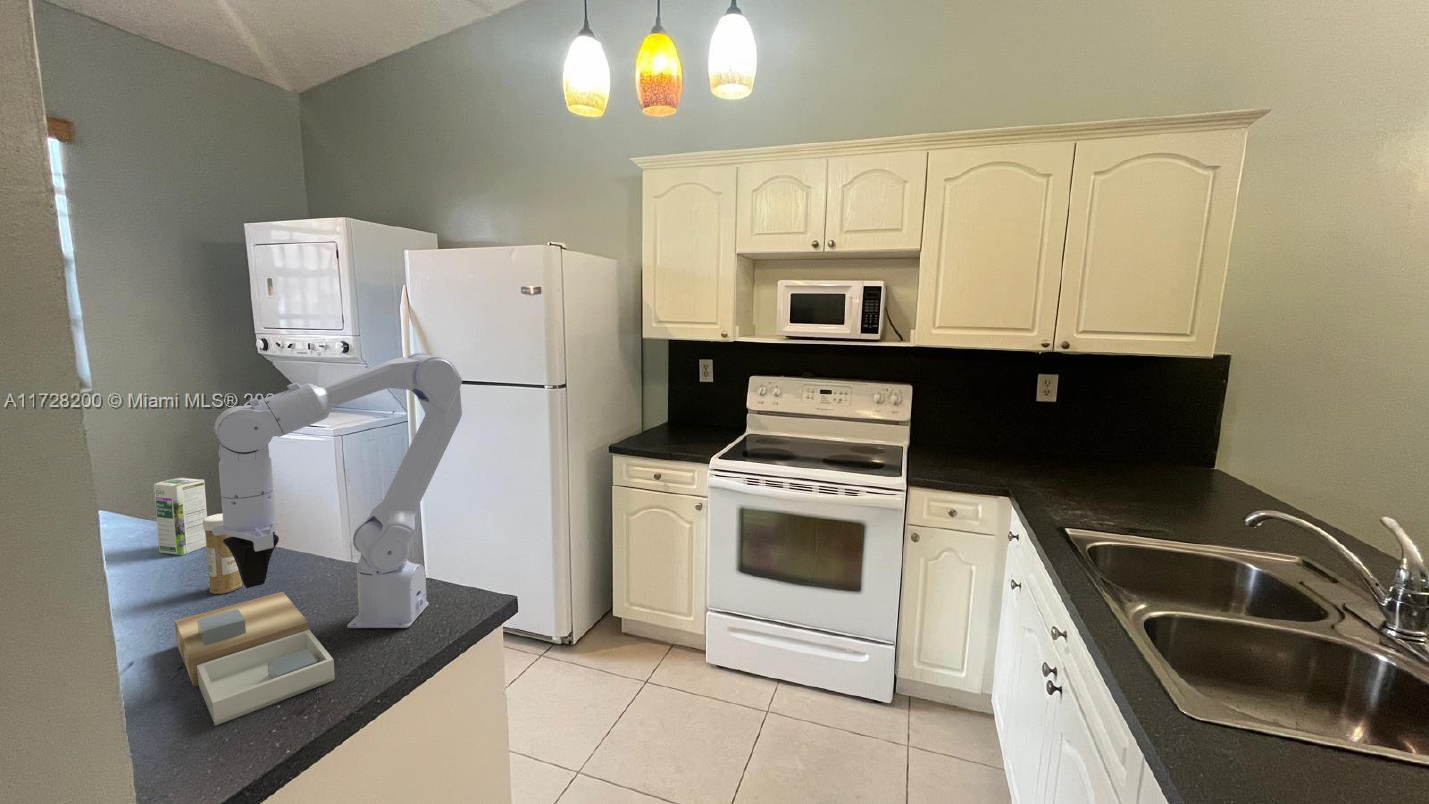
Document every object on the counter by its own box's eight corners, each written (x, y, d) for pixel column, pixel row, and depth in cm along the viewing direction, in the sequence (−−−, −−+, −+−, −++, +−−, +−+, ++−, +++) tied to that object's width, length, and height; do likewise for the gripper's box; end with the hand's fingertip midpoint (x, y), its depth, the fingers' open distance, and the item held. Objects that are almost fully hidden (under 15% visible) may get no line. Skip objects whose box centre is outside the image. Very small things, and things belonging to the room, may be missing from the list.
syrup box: (157, 553, 117) (150, 483, 115) (188, 542, 123) (182, 476, 121) (181, 556, 116) (174, 485, 114) (211, 545, 122) (205, 478, 120)
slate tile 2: (276, 675, 75) (278, 690, 75) (317, 661, 79) (318, 674, 79) (267, 662, 78) (268, 675, 78) (306, 648, 81) (307, 661, 82)
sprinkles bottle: (240, 591, 103) (234, 518, 101) (207, 597, 100) (200, 522, 98) (244, 581, 106) (238, 510, 104) (211, 586, 104) (204, 514, 102)
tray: (198, 686, 76) (196, 665, 76) (310, 648, 86) (309, 629, 85) (214, 726, 69) (212, 703, 69) (334, 680, 79) (333, 659, 78)
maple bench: (177, 646, 85) (174, 620, 85) (284, 614, 95) (282, 591, 95) (193, 687, 76) (190, 658, 76) (310, 647, 86) (308, 622, 86)
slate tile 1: (198, 633, 82) (197, 619, 81) (239, 621, 85) (237, 608, 85) (204, 645, 79) (202, 631, 79) (246, 632, 82) (244, 619, 82)
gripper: (199, 487, 83) (207, 577, 84) (222, 510, 73) (230, 611, 75) (260, 478, 88) (266, 563, 90) (289, 499, 79) (295, 593, 81)
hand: (254, 584), depth 83 cm, fingers closed
